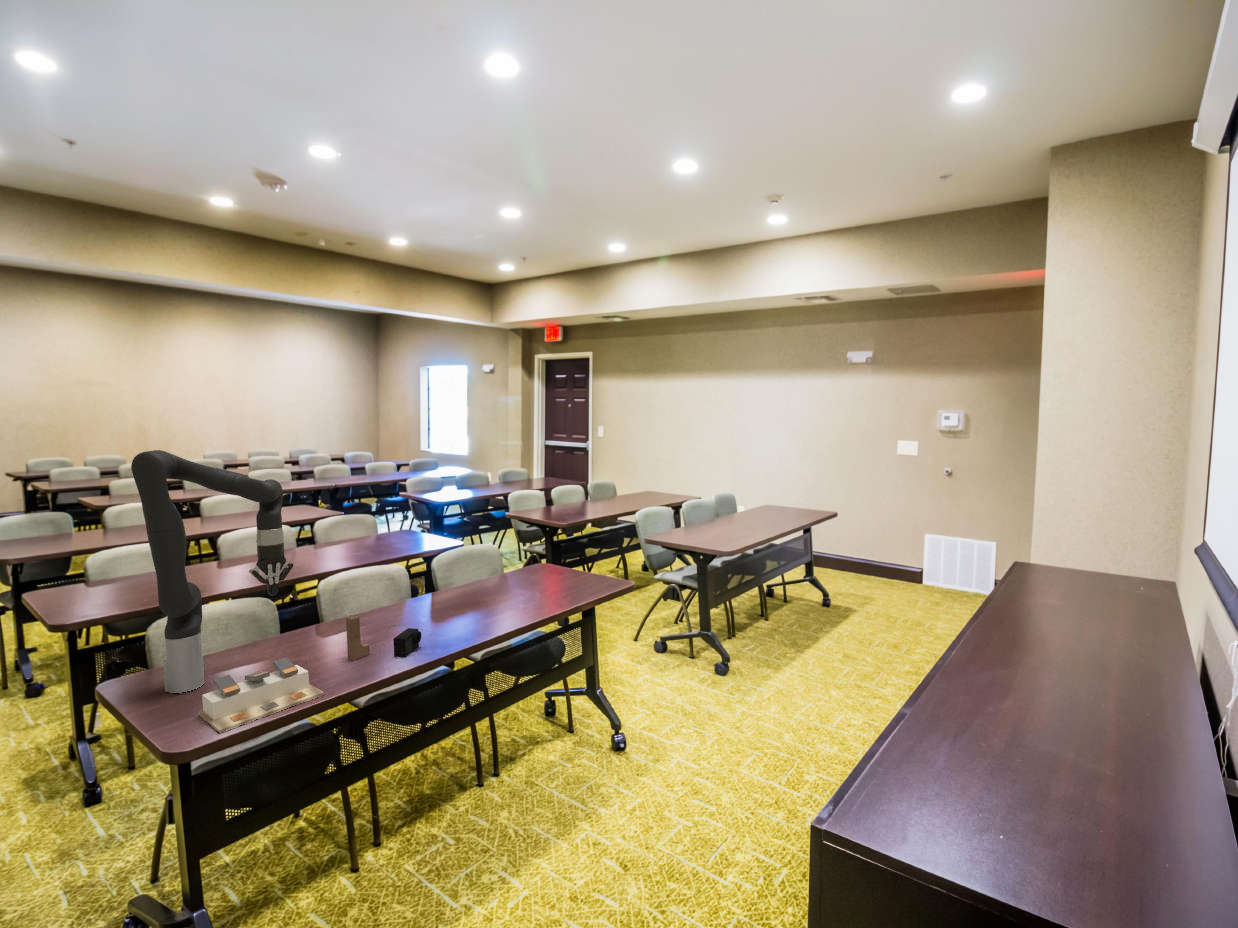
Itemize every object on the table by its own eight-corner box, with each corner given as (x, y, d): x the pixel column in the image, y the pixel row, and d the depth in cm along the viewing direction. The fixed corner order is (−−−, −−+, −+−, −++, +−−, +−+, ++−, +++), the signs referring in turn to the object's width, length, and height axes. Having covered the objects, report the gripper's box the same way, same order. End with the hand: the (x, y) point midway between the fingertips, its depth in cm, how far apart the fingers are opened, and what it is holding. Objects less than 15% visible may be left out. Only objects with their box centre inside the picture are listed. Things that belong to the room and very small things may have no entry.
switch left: (224, 696, 169) (224, 693, 168) (213, 682, 173) (213, 678, 173) (240, 691, 172) (240, 687, 171) (229, 677, 176) (229, 674, 176)
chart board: (219, 733, 161) (219, 729, 161) (198, 715, 171) (198, 711, 171) (324, 695, 183) (323, 691, 183) (300, 681, 193) (299, 677, 193)
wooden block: (352, 660, 209) (351, 619, 208) (347, 658, 211) (345, 617, 209) (369, 654, 214) (368, 613, 213) (364, 652, 216) (363, 612, 215)
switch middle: (255, 680, 175) (254, 676, 175) (245, 679, 179) (244, 675, 180) (270, 675, 178) (269, 671, 178) (259, 675, 183) (258, 670, 183)
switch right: (284, 677, 181) (284, 673, 181) (272, 664, 186) (273, 660, 185) (297, 672, 184) (298, 669, 184) (286, 660, 189) (286, 656, 189)
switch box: (213, 719, 167) (212, 699, 166) (203, 711, 171) (201, 691, 171) (309, 686, 187) (308, 668, 186) (297, 679, 192) (296, 662, 191)
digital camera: (408, 658, 211) (407, 638, 211) (394, 657, 212) (393, 638, 211) (422, 646, 221) (421, 628, 221) (408, 646, 222) (407, 627, 222)
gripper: (252, 547, 184) (255, 602, 186) (297, 540, 195) (299, 592, 196) (242, 544, 189) (246, 597, 191) (287, 537, 199) (289, 588, 201)
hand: (273, 594), depth 193 cm, fingers closed
